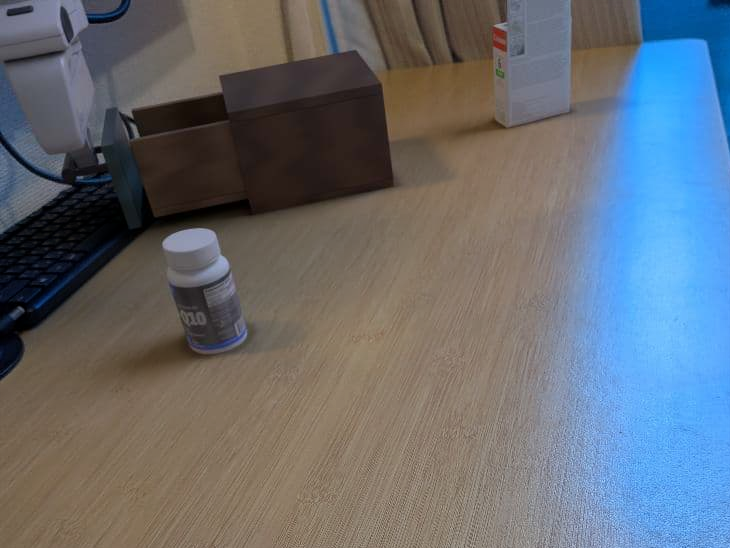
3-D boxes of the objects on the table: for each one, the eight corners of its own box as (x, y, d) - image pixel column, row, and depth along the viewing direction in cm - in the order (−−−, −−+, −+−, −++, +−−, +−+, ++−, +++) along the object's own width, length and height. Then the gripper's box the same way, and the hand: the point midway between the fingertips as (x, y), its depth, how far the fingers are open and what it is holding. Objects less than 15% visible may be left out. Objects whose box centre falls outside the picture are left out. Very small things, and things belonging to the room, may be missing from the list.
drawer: (80, 239, 81) (47, 157, 76) (87, 194, 90) (58, 117, 85) (263, 202, 83) (244, 119, 77) (252, 161, 92) (234, 84, 86)
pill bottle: (178, 346, 66) (143, 244, 60) (223, 320, 68) (194, 220, 62) (214, 363, 63) (182, 259, 57) (260, 335, 65) (233, 232, 60)
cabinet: (252, 216, 83) (227, 112, 76) (242, 171, 93) (218, 75, 86) (394, 188, 84) (382, 83, 77) (369, 145, 94) (356, 49, 87)
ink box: (493, 122, 95) (488, -29, 85) (555, 106, 97) (557, -44, 87) (507, 130, 93) (504, -24, 82) (570, 114, 94) (574, -39, 84)
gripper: (11, -2, 81) (67, 145, 90) (-20, 44, 66) (50, 214, 76) (76, -14, 81) (124, 134, 91) (59, 30, 67) (119, 200, 76)
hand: (90, 171), depth 83 cm, fingers closed
